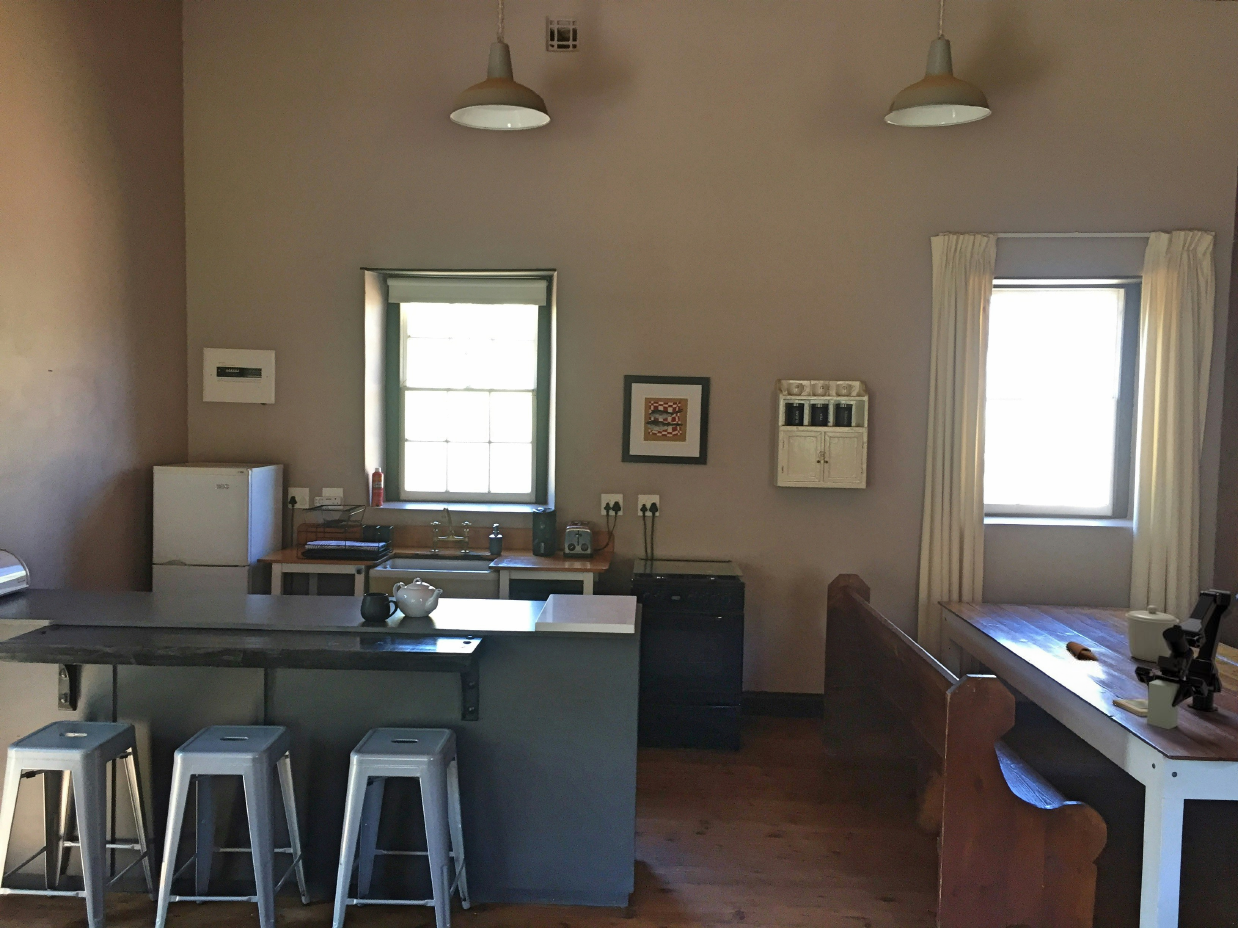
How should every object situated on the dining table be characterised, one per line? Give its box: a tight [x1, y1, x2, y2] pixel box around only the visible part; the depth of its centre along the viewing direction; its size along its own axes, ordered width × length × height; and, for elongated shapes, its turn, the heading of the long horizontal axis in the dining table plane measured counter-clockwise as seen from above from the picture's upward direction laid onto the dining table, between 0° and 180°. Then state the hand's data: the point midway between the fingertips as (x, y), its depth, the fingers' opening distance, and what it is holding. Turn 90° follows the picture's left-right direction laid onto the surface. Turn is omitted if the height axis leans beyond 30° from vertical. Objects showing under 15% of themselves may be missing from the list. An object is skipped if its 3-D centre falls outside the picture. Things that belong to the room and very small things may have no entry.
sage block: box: [1146, 680, 1179, 730], centre depth 267 cm, size 6×6×12 cm
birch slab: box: [1111, 698, 1148, 717], centre depth 281 cm, size 12×12×2 cm
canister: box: [1124, 605, 1180, 663], centre depth 347 cm, size 18×18×21 cm
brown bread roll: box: [1065, 641, 1100, 662], centre depth 351 cm, size 18×7×7 cm, turn 167°
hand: (1160, 703), depth 266 cm, fingers closed on sage block, 6 cm apart
